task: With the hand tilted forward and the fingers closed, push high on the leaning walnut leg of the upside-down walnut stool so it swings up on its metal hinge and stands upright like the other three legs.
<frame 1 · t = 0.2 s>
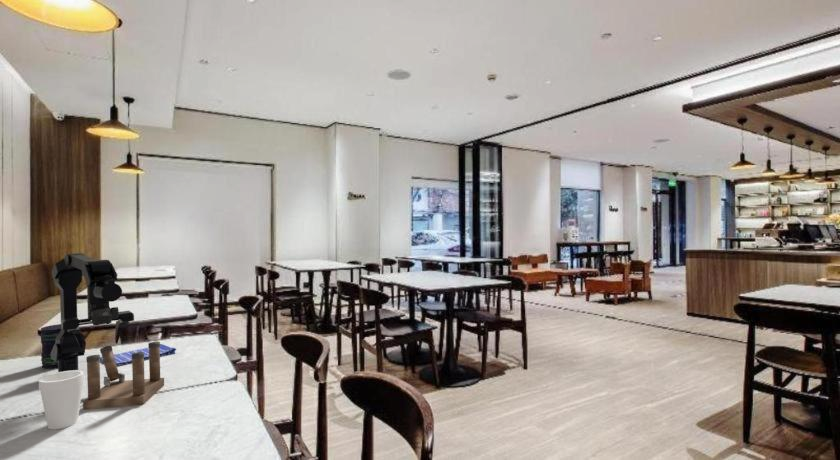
hand: (99, 346, 144), 14 cm above the table, tool pointing down, fingers open, 9 cm apart
storage jar: (58, 365, 170), on the table
hinged leg: (110, 363, 143), point 8 cm above the table, hinge at 32.0°
dish towel: (138, 358, 180), on the table
foam cup: (63, 424, 118), on the table
stool: (126, 396, 137), on the table
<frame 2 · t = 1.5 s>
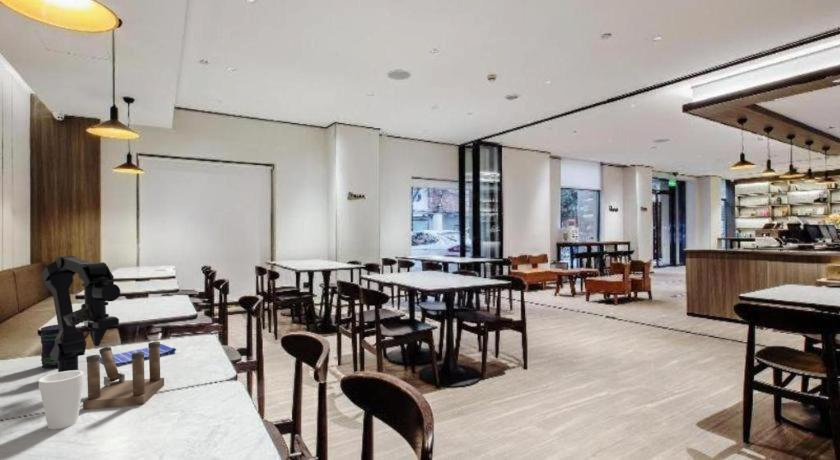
hand: (96, 345, 149), 13 cm above the table, tool pointing down, fingers closed
hinged leg: (109, 364, 143), point 8 cm above the table, hinge at 36.3°
everything else where it was.
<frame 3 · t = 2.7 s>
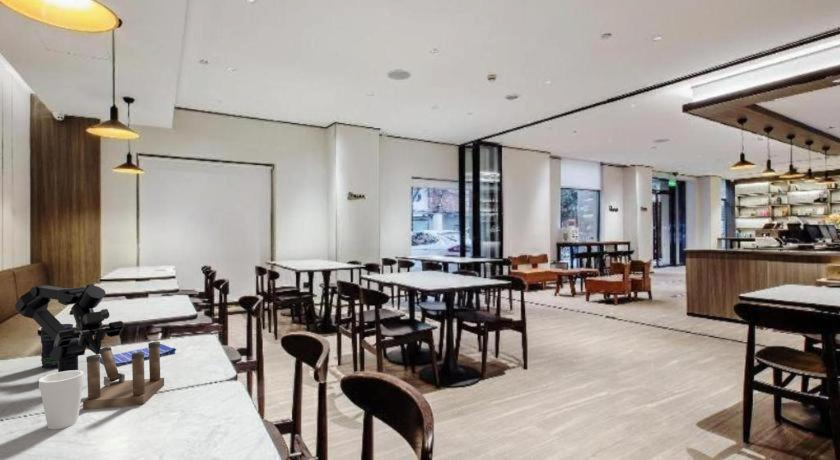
hand: (98, 353, 148), 10 cm above the table, tool tilted 45°, fingers closed
nothing on the table moved.
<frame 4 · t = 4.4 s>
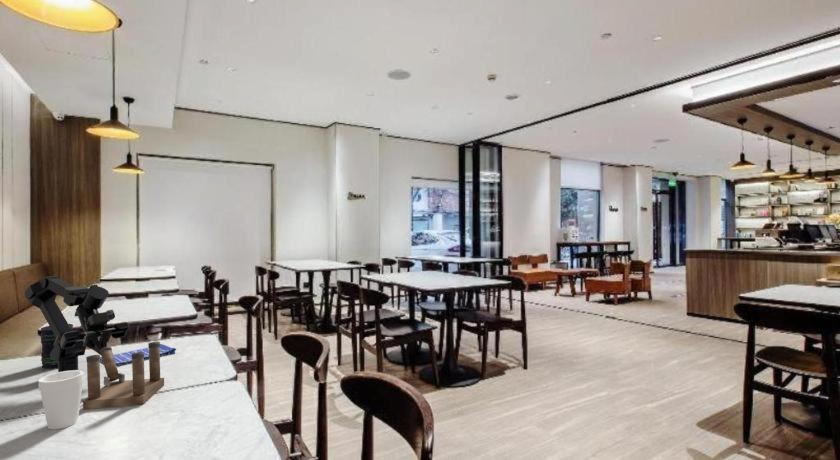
hand: (104, 355, 146), 10 cm above the table, tool tilted 45°, fingers closed, pressing on hinged leg
hinged leg: (109, 363, 143), point 8 cm above the table, hinge at 34.7°, touching gripper
everything else where it was.
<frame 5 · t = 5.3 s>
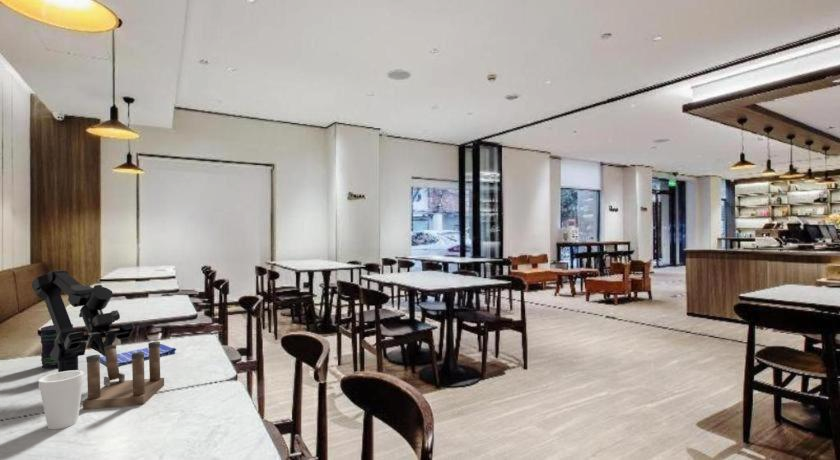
hand: (109, 356, 144), 11 cm above the table, tool tilted 45°, fingers closed, pressing on hinged leg
hinged leg: (112, 362, 142), point 9 cm above the table, hinge at 14.1°, touching gripper
everything else where it was.
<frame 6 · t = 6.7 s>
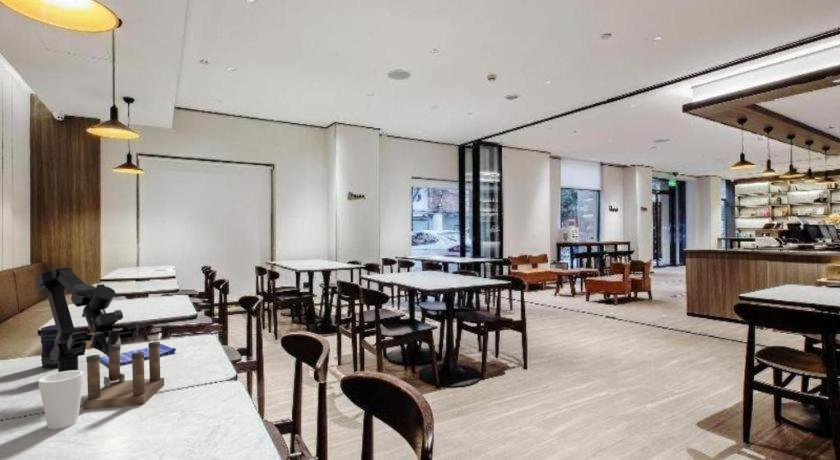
hand: (112, 356, 142), 11 cm above the table, tool tilted 45°, fingers closed, pressing on hinged leg
hinged leg: (114, 362, 141), point 9 cm above the table, hinge at -4.7°, touching gripper
everything else where it was.
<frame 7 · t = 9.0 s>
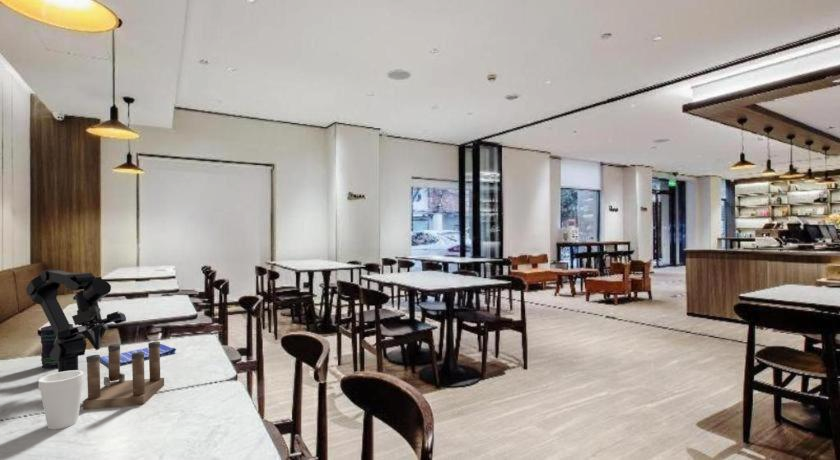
hand: (97, 349, 148), 12 cm above the table, tool tilted 25°, fingers closed
hinged leg: (114, 362, 141), point 9 cm above the table, hinge at -3.4°
everything else where it was.
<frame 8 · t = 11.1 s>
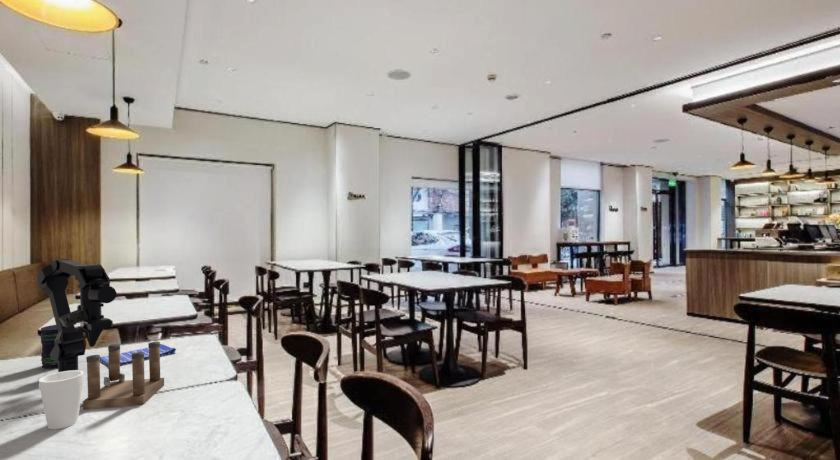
hand: (92, 346, 151), 12 cm above the table, tool pointing down, fingers closed
nothing on the table moved.
at the end: hinged leg at -3° (first picture: +32°) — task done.
